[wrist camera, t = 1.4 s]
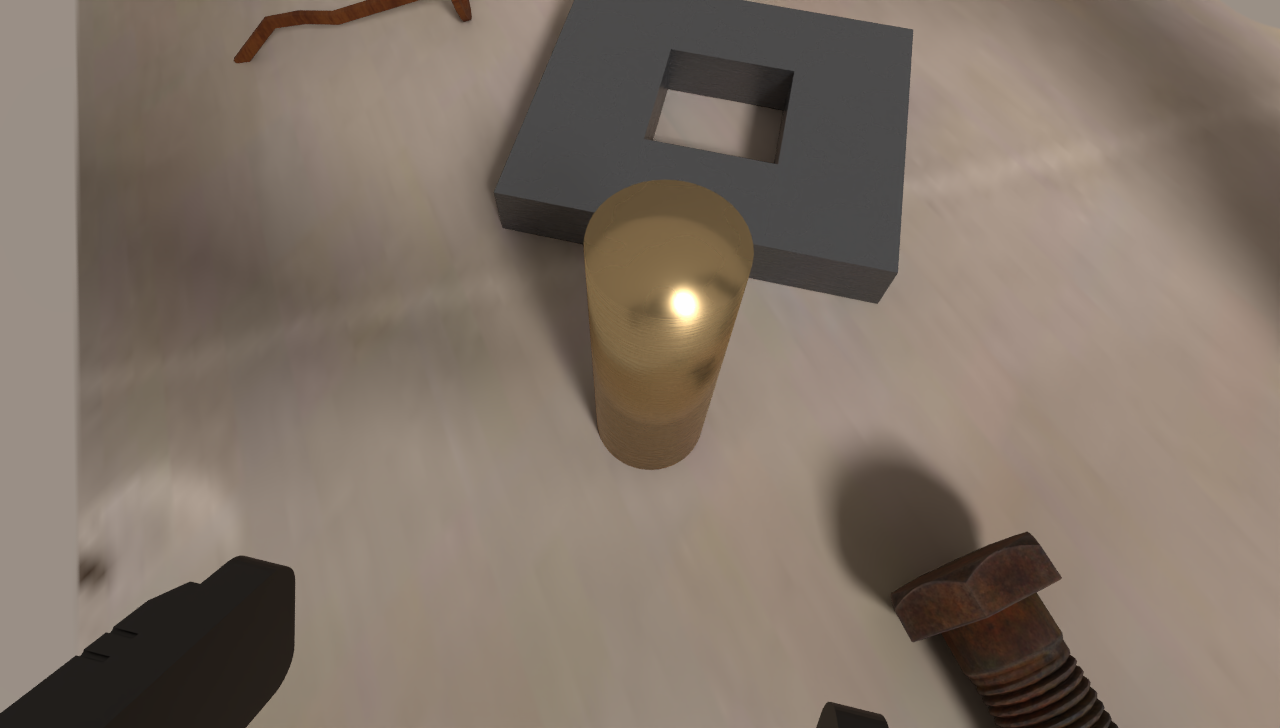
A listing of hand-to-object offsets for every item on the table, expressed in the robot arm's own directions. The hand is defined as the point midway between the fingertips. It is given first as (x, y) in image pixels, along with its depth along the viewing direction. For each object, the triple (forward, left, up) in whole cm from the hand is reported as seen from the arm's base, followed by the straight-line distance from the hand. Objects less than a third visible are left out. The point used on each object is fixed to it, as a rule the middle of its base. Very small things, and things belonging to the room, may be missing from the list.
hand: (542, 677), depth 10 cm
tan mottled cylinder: (0, -10, -15) cm, 18 cm away
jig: (0, -26, -15) cm, 31 cm away
